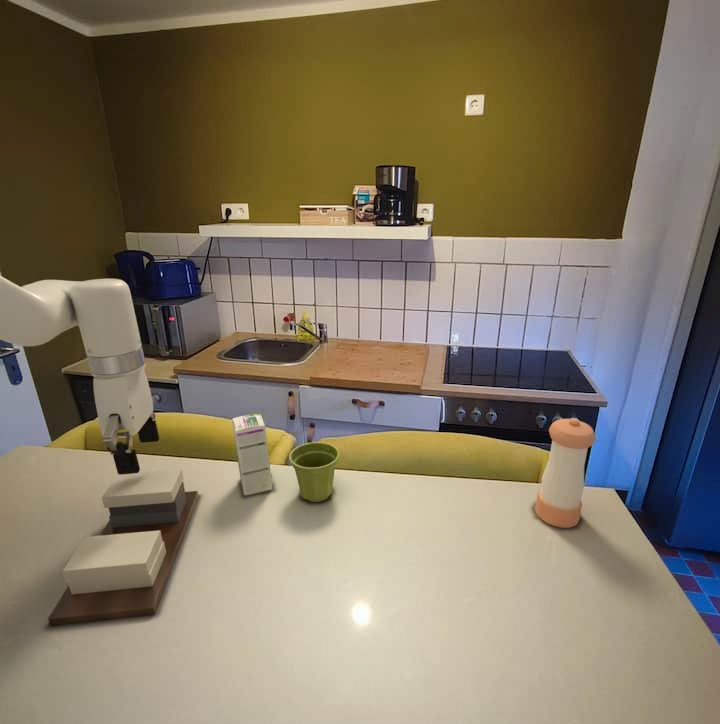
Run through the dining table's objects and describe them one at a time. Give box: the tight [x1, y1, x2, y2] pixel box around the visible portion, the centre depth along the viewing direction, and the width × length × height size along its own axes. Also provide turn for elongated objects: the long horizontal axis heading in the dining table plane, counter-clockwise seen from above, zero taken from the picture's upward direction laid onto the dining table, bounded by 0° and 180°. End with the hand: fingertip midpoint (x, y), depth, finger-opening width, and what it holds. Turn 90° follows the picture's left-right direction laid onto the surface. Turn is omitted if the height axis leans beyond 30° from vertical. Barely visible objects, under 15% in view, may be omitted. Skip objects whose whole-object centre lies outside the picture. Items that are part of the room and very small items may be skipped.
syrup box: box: [231, 413, 273, 496], centre depth 83 cm, size 6×6×14 cm
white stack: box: [62, 530, 166, 594], centre depth 63 cm, size 11×7×4 cm, turn 97°
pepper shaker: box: [534, 417, 596, 529], centre depth 74 cm, size 7×7×19 cm
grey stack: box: [108, 481, 186, 528], centre depth 75 cm, size 11×5×5 cm, turn 97°
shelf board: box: [47, 490, 199, 626], centre depth 70 cm, size 14×26×1 cm, turn 7°
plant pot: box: [288, 441, 340, 503], centre depth 82 cm, size 9×9×9 cm
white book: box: [101, 468, 184, 509], centre depth 74 cm, size 11×7×2 cm, turn 97°
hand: (140, 456), depth 72 cm, fingers open, 9 cm apart
